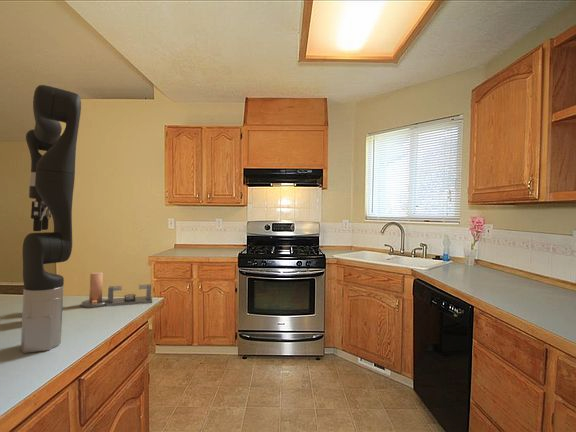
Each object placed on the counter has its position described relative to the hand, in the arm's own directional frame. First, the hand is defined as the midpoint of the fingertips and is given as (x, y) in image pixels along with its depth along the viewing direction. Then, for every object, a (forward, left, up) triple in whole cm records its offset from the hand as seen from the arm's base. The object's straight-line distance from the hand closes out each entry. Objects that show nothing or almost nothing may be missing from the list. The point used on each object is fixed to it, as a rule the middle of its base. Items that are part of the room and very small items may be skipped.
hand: (40, 230), depth 113 cm
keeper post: (+13, -30, -32) cm, 46 cm away
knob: (+13, -17, -31) cm, 37 cm away
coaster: (+13, -17, -32) cm, 38 cm away
